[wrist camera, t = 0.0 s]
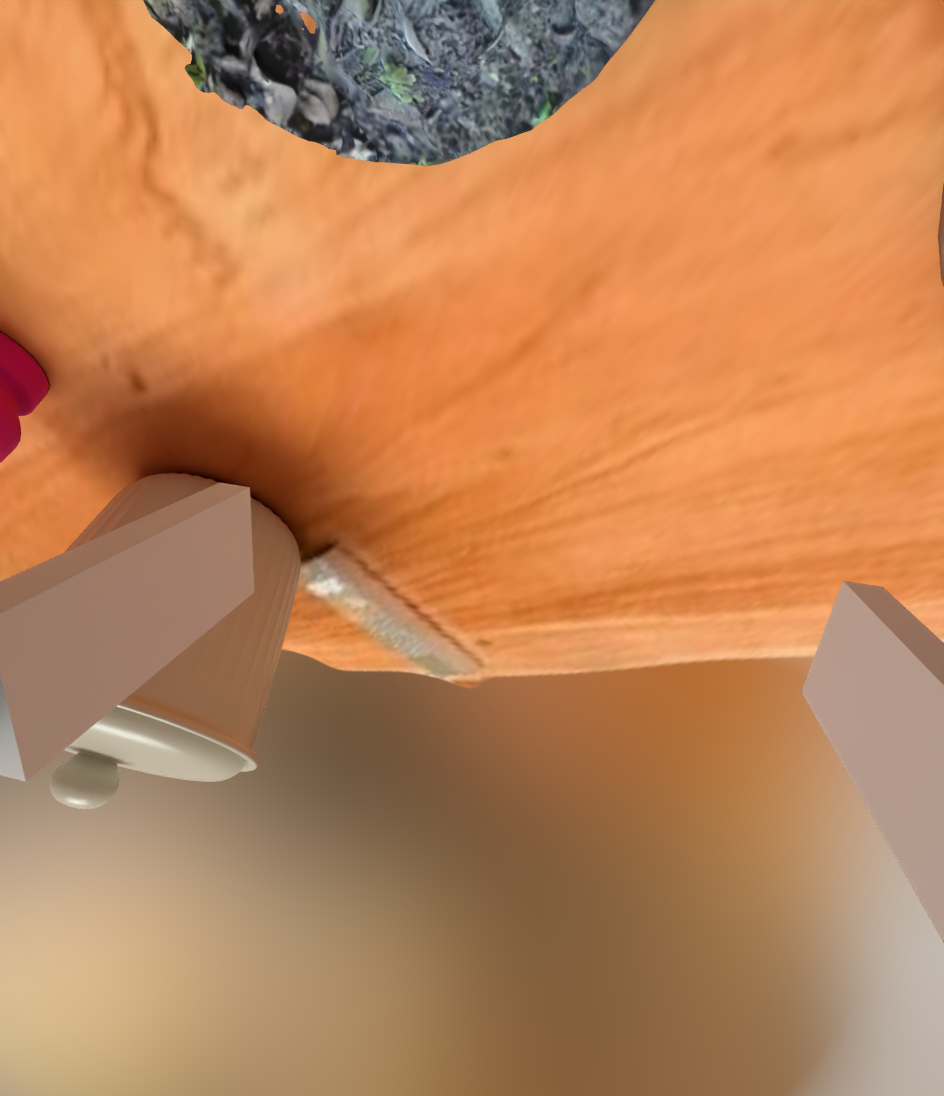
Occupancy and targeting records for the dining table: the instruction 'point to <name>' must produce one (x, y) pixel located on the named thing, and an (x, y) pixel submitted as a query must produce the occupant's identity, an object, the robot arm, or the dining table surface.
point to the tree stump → (400, 66)
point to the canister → (191, 669)
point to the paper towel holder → (941, 238)
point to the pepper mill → (17, 391)
